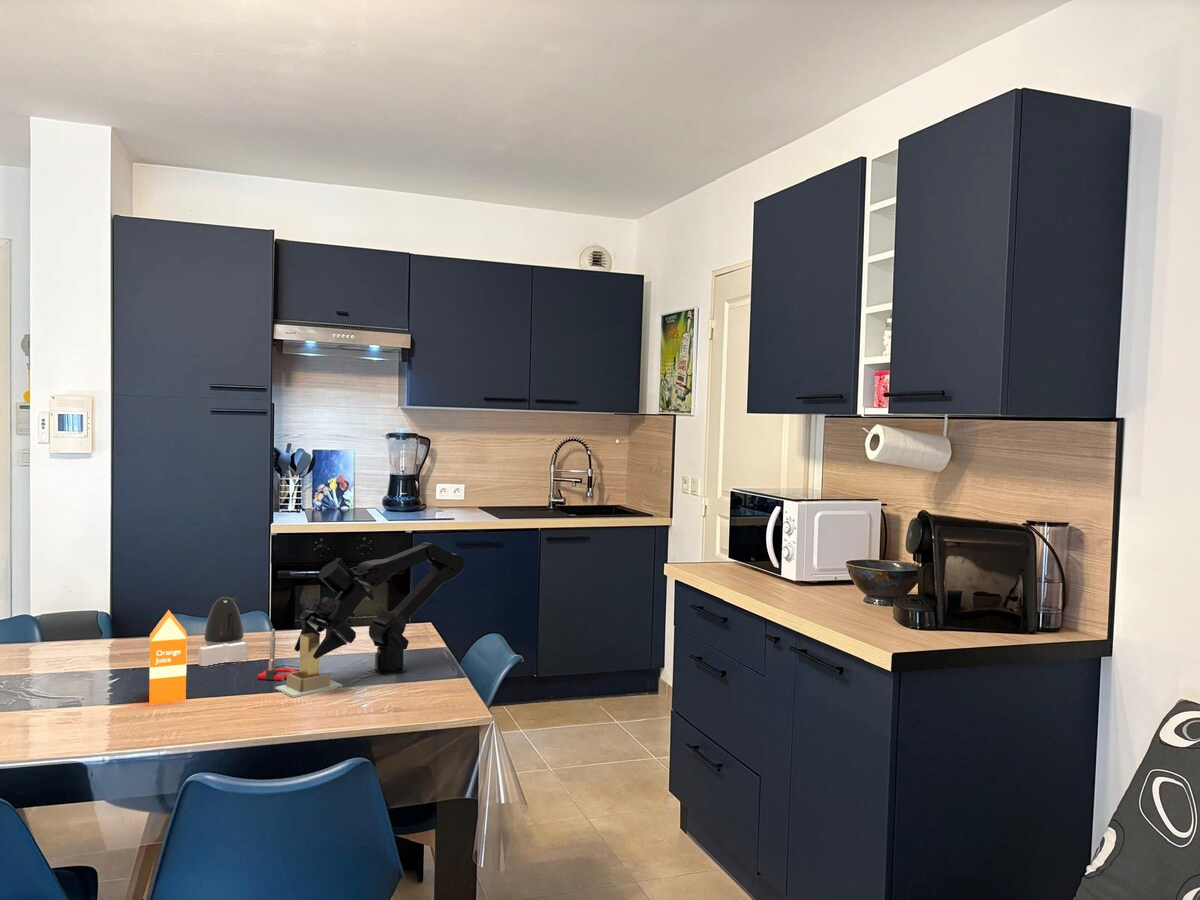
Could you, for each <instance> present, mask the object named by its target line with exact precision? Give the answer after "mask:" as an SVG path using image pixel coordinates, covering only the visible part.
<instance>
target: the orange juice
mask: <svg viewBox="0 0 1200 900" xmlns="http://www.w3.org/2000/svg"><path fill="white" fill-rule="evenodd" d="M187 640H188V635H187V631H186V629H185V628H184V627H183V626H182V624H181V623H180V622H179V621H178V620H177V619H176V617H175V615H173V613H171V611H170V610H169V609H168V610H167V611H166V613H165V614H164V616H163V617H162V618H161V619H160V621H159V622H158V623H157V625H155V627H154V628H153V630H152V631H151V633H150V634H149V699H148V700H149V705H150V706H152V705H153V706H154V705H160V704H170V703H169V702H171V703H178V702H177V701H180V702H186V701H185V700H186V699H187V697H186V696H187V692H186V691H187V690H186V689H187V655H188V654H187V653H188V652H187V649H188V647H187V646H188V645H187Z"/></svg>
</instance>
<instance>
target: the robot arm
mask: <svg viewBox="0 0 1200 900" xmlns="http://www.w3.org/2000/svg"><path fill="white" fill-rule="evenodd" d="M424 561H427V562H429V563H430V567H429V570H428V573H427V574H426V575H425V576H424V577H423V578H422V579H421V580H420V581H419V583H417V585H416V586H414V588H413V589H412V590H410V592H409V593H408V594H407V595H406V596H405V597H404V598H403V599H402V600H401V601H400V602H399V604H397V605H396V606H395V608H393V609H392V610H389V611H388V610H383V609H382V610H381V611H379V612H378V614H377V616H376V617H375V618H373V619H371V623H370V625H369V626H368V637H369V638H370V639H371V640H372V642H373V645H374V646H375V647H377V648H376V649H377V650H376V653H375V655H374V669H375V670H376V671H377V672H378V673H379V674H380V675H388V674H389V675H390V674H396V673H397V674H398V673H405V672H406V669H405V668H404V650H407V648H408V645H409V643H410V642H409V640H408V639H407V638H406V637H405V636H404V635H403V634H404V632H405V631H406V626H407V623H408V621H409V620H410V619H411V618H412V617H413V616H414V615H415V614H416V613H417V611H418V610H419V609H420V608H421V607H422V606H423V605H424V604H425V603H426V602H427V601H428V599H429V598H430V597H431V596H433V594H434V593H436V591H437V590H438V589H439V588H440V587H441V586H442V585H443V584H445V583H447V582H450V581H451V580H454V579H455V578H456V577H457V576H459V575H460V574H461V573H462V572H463V570H464V569H465V560H464V558H463V556H462V555H460V554H457V553H452V552H449V551H447V550H446V549H443V548H441V547H439V546H438V545H436V544H435V543H431V542H426V541H425V542H421V543H420V544H419V545H416V546H413V547H411V548H409V549H407V550H406V549H405V550H404V551H401V552H398V553H396V554H394V555H391V556H389V557H386V558H382V559H381V558H380V559H371V560H366V561H362V562H360V563H359V564H357V566H355V567H351V568H350V567H349V566H348V565H347V564H346V563H345V561H344V560H343V559H342V558H339V557H336V558H335V560H333V561H330V562H329V563H327V564H326V565H323V566H322V568H321V569H320V571H319V572H318V578H319V579H321V581H322V583H325V585H327V586H328V588H330V590H331V591H333V592H334V593H339V594H338V595H337V596H336V597H335V598H332V597H327V596H324V597H323V598H322V599H321V598H319V597H316V596H312V595H309V596H308V597H307V600H306V603H305V605H304V608H305V609H307V610H303V612H302V613H301V614H300V615H299V618H300V621H299V622H300V623H301V631H300V634H299V637H298V638H297V641H296V643H295V645H294V648H293V649H294V651H295V652H300V635H302V634H308V633H313V634H316V635H319V636H322V635H321V632H324V630H325V637H324V638H323V639H322V641H321V642H320V645H319V647H318V648H317V650H316V651H315V653H314V655H313V657H314V658H315V659H317V658H319V659H320V658H321V657H323V656H324V655H327V654H328V653H330V652H332V651H334V650H337V649H338V648H340V647H343V646H347V645H348V644H352V643H353V642H354V641H355V639H356V637H357V632H356V631H355V630H354V629H353V628H352V627H351V626H350V625H349V624H348V623H347V621H349V618H352V619H354V618H355V616H356V614H355V611H356V610H357V608H358V607H359V606H360V605H361V604H362V602H363V601H364V600H368V601H373V600H374V594H373V592H374V589H371V588H366V587H365V585H367V586H370V587H378V586H380V585H383V584H384V583H386V582H387V581H389V580H390V579H391V577H392V576H393V575H395V574H396V573H398V572H401V571H403V570H406V569H408V568H410V567H413V566H415V565H418V564H420V563H422V562H424ZM356 580H357V582H356Z"/></svg>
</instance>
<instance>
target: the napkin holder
mask: <svg viewBox="0 0 1200 900" xmlns="http://www.w3.org/2000/svg"><path fill="white" fill-rule="evenodd" d="M247 658H248V643H247V642H245V641H241V642H239V643H233V644H227V643H224V644H220V645H213V646H207V645H206V646H201V647H198V666H199V665H200V666H208V665H213V664H218V663H224V662H236V661H241V660H248V659H247ZM200 666H199V667H200Z"/></svg>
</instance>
